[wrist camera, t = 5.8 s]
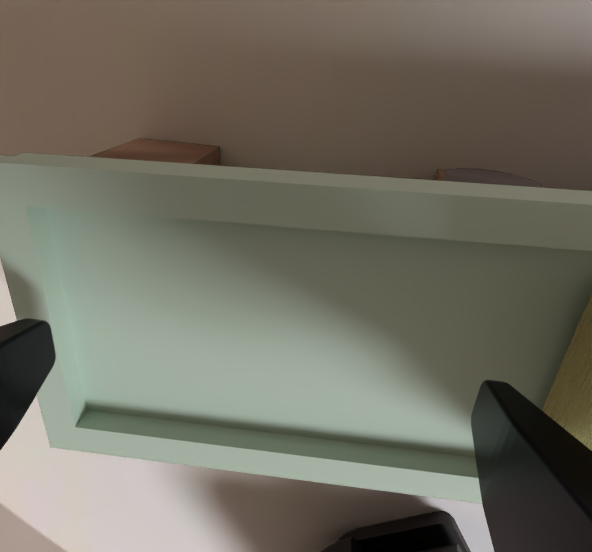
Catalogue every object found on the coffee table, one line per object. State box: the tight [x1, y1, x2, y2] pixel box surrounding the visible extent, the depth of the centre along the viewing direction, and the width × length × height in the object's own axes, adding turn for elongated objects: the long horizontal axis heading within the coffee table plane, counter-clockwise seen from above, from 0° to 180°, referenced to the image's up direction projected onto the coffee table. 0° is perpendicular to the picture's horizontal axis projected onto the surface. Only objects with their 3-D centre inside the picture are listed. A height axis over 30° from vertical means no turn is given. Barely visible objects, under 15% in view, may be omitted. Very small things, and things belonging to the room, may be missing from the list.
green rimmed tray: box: [0, 153, 592, 504], centre depth 10 cm, size 20×7×2 cm, turn 88°
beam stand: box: [90, 138, 543, 188], centre depth 12 cm, size 18×7×4 cm, turn 85°
